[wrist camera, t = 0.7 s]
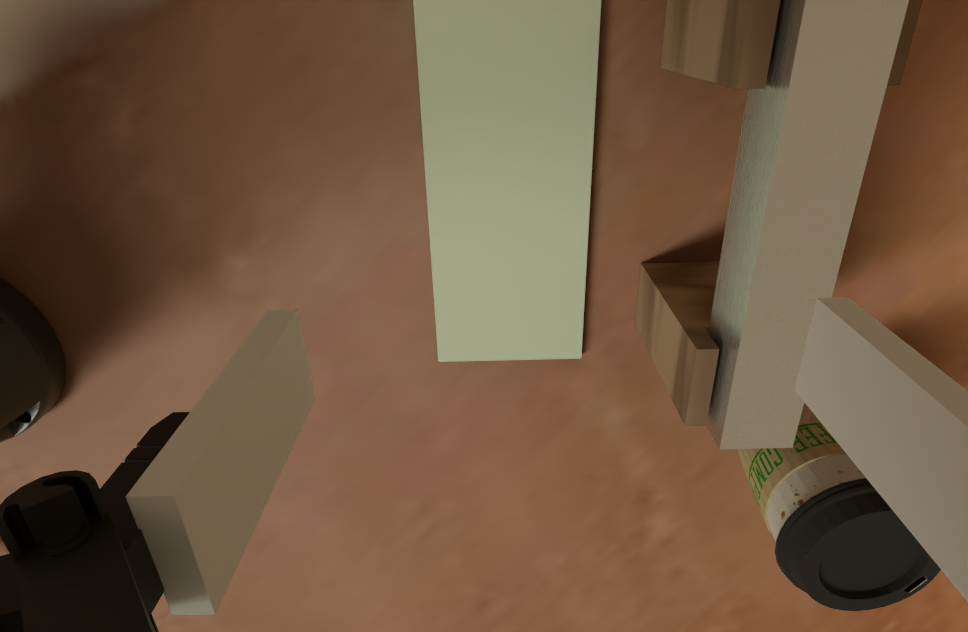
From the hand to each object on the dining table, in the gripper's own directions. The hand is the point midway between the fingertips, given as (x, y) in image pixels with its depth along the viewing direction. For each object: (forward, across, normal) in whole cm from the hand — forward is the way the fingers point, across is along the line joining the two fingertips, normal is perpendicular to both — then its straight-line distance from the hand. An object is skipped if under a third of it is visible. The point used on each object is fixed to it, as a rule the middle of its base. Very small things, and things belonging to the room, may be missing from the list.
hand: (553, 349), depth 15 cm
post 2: (+27, +12, -11) cm, 31 cm away
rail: (+17, +13, -2) cm, 21 cm away
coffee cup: (+27, +20, -22) cm, 40 cm away
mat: (+26, 0, -2) cm, 27 cm away
